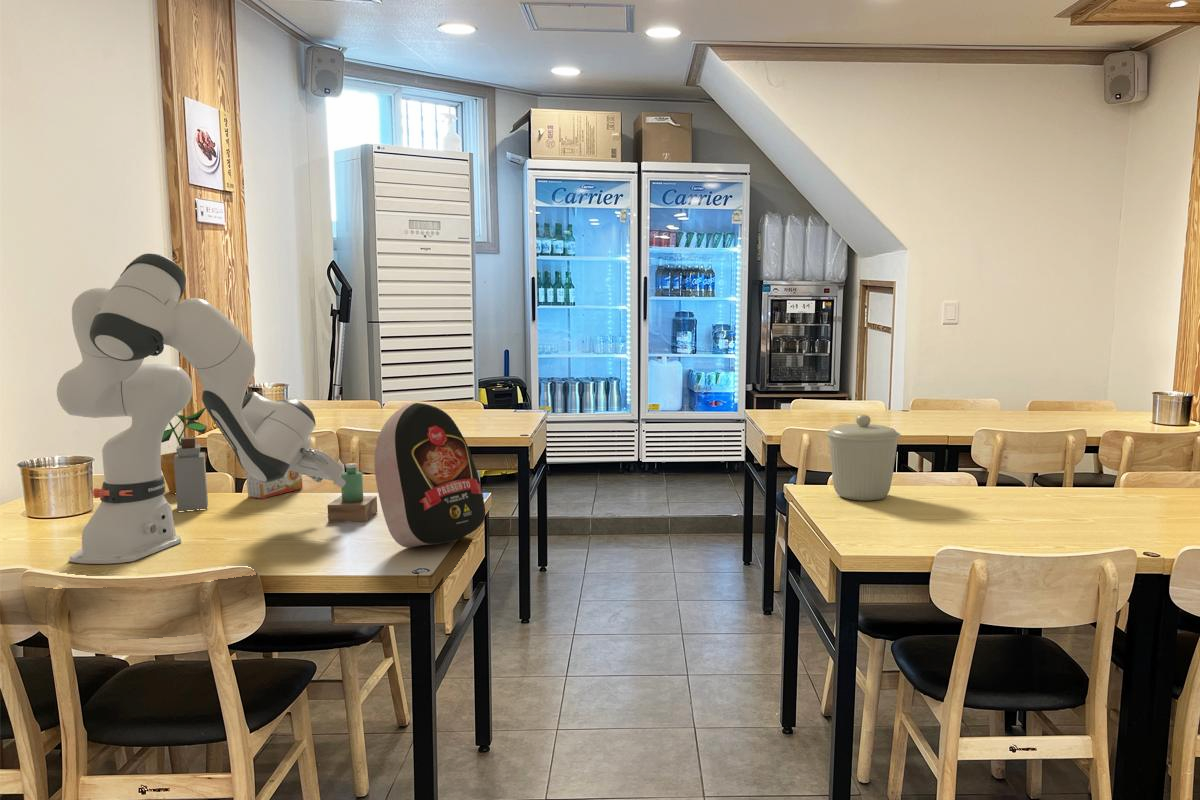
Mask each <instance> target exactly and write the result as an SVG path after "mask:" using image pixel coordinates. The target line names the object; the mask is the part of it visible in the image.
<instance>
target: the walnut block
mask: <svg viewBox="0 0 1200 800" xmlns="http://www.w3.org/2000/svg"><path fill="white" fill-rule="evenodd" d="M326 505H327V519H328V520H327V521H366V520H367V519H368V520H370V519H371V518H372V517H373V516H374V515H373V514H374V513H376V512H377V513H378V496H377V495H373V496H372V495H367V496H366V495H363V501H360V502H352V503H347V502H342V495H341V496H339V497H337V498H335V499H334V500H333V501H331V502H330V503H328V504H326ZM377 513H376V514H377ZM372 515H373V516H372ZM371 516H372V517H371ZM370 517H371V518H370ZM369 518H370V519H369ZM368 520H367V521H368ZM367 521H366V522H367Z"/></svg>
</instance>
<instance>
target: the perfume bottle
mask: <svg viewBox="0 0 1200 800" xmlns="http://www.w3.org/2000/svg"><path fill="white" fill-rule="evenodd" d="M180 442H181V445H182V446H179V445H177V447H176V451H175V452H177V455H175V457H174V470H175V484H176V494H175V495H176V507H177V512H178V511H187V510H197V509H199V510H200V509H207V510H208V508H207V507H209V498H208V485H207V471H206V469H207V468H206V462H205V453H206V452H205V451H202V452H203V453H200V451H201V446H202V444H196V436H185V437H182V436H181V438H180ZM204 452H205V453H204Z"/></svg>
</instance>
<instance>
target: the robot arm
mask: <svg viewBox="0 0 1200 800" xmlns="http://www.w3.org/2000/svg"><path fill="white" fill-rule="evenodd" d="M186 283H187V279H186V274H185V273H184V271H183V269H182V268H181V267H180V266H179V265H178V264H177V263H176V262H175V261H173V260H172V259H170V258H168V257H167V256H164V255H161V254H158V253H157V254H156V253H143V254H141V255H139V256H137V257H136V258H135V259H133V260H132V261H131V262H130V263H129V264H128V265H126V267H125V269H124V270H123V271H122V273H121V274H120V275H119V278H117V280H116V281H115V283H114V284H113V285H112V287H111V288H105V287H96V288H89V289H87V290H84V291H82V292H81V293H80V294H79V295H78V296H77V297H75V299H74V302H72V307H71V321H72V322H71V323H72V329H73V333H74V336H75V340H76V343H77V345H78V348H79V352H80V354H81V360H82V361H81V362H80V363H79V364H78V365H77V366H75V367H73V368H71V369H69V370H67V371H66V372H65V373H63V374H62V376H61V377H60V379H59V381H58V383H57V387H56V396H57V401H58V403H59V405H60V406H61V409H63V410H64V411H65V412H66V414H68V415H70V416H73V417H75V416H76V417H82V418H83V417H84V418H91V419H98V418H100V419H101V418H115V417H117V418H118V417H130V418H131V424H130V427H128V428H126V429H125V430H122V431H120V432H119V433H117V434H115V435H114V436H112V437H110V438H109V439H107V441H106V442H105V443H104V445H103V447H102V450H101V454H102V465H103V467H102V468H103V477H104V481H103V482H102V485H101V488H94V489H93V490H92V492H91V493H92V494H91V495H92V497H93V499H99V500H100V503H99V505H98V507H97V508H96V510H95V511H94V512H93V514H92V516H91V517H90V518H89V520H88V522H87V523H86V525H85V526H84V527H83V529H82V533H81V548H80V549H78V550H77V551H76V552H74V553H73V554H71V555H70V556H69V562H71V563H76V564H86V565H87V564H91V565H95V564H97V565H99V564H100V565H102V564H103V565H106V564H122V563H129V562H134V561H137V560H140V559H142V558H145V557H147V556H150V555H153V554H155V553H157V552H160V551H163V550H165V549H168V548H170V547H172V546H175V545H178V544H180V543H181V542H182V538H181V537H180V536H179V535H177V533H176V527H175V521H174V514H173V510H172V506H171V504H170V503H169V502H168V501H167V499H166V497H165V495H164V494H165V492H166V481H165V478H164V475H163V473H162V470H161V455H162V454H161V453H162V443H163V442H162V437H163V434H164V431H166V429H167V427H168V425H170V424H169V422H171V421H172V420H173V419H174V418H175V417H176V416H175V415H176V414H178V415H179V413H180V412H181V411H183V410H184V409H185V408H186V407H187V405H189V403H190V401H191V398H192V395H193V384H192V383H193V382H192V379H191V378H190V375H189V374H188V373H187V372H186V371H185V370H184V369H183V367H181V366H177V365H169V364H162V363H145V364H144V363H143V362H144V360H145V358H148V357H151V356H152V357H158V356H159V355H161V354H162V353H163V351H164V347H165V346H170V347H172V348H174V349H175V350H177V352H179V353H180V354H181V355H182V357H184V359H185V360H186V361H187V362H188V363H189V364H190V366H192V367H193V369H194V370H195V372H196V373H197V375H198V377H199V378H198V379H199V380H200V384H201V388H202V389H201V390H202V394H201V400H202V401H201V402H202V403H203V405H204V408H206V409H205V410H206V411H207V413H208V414H209V416H210V417H211V419H212V420H213V422H214V423H215V425H216V427H217V428H218V430H219V431H220V432H221V434H222V435H223V437H224V438H225V440H226V441H227V442H228V444H229V445H230V447H231V449H232V450H233V452H234V453H235V455H236V457H237V460H238V463H239V465H240V467H241V468H242V470H244V472H245V473H247V474H249V475H250V476H251V477H253V478H254V479H256V480H258V481H260V482H264V483H266V482H272V481H275V480H278V479H281V478H283V477H284V475H285V473H286V472H287V470H290V471H293V472H297V473H301V474H302V475H305V476H307V477H309V478H310V479H311V480H313V481H314V482H316V483H322V481H323V480H327V481H332V482H333V484H334V486H336V487H338V488H340V489H341V488H342V487H343V486H344V485H345V484H346V482H345V480H343V479H342V477H341V474H342V473H344V471H345V470H344V467H343V466H342V465H341V464H340V463H339V462H338V461H336V460H335V459H334V458H333V457H331V456H330V455H329V454H328V453H326V452H325V451H322V450H320V449H315V448H312V439H311V437H310V436H311V434H312V433H313V432H314V429H315V427H316V418H315V416H314V412H313V411H312V410H311V409H310V408H309V407H308V406H307V405H305V404H304V403H303V402H302V401H300V400H299V399H297V398H285V399H280V400H272V399H268V398H266V397H264V396H263V395H261V394H260V393H258V392H255V391H250V392H248V393H247V394H246V392H247V389H248V387H249V384H250V381H251V380H252V377H253V375H254V372H255V366H256V355H255V351H254V349H253V346H252V344H251V343H250V341H249V340H248V338H247V337H246V336H245V335H244V334H243V332H241V330H240V329H239V328H238V327H237V326H236V324H234V323H233V321H231V320H230V319H229V318H228V317H227V316H226V315H225V314H224V313H223V312H221V311H220V310H219V309H218V308H216V307H215V306H214V305H213V304H211V303H210V302H208V301H207V300H205V299H202V298H199V297H191V298H186V299H183V300H180V301H179V299H181V298H182V296H183V294H184V291H185V288H186ZM161 442H162V443H161Z"/></svg>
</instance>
